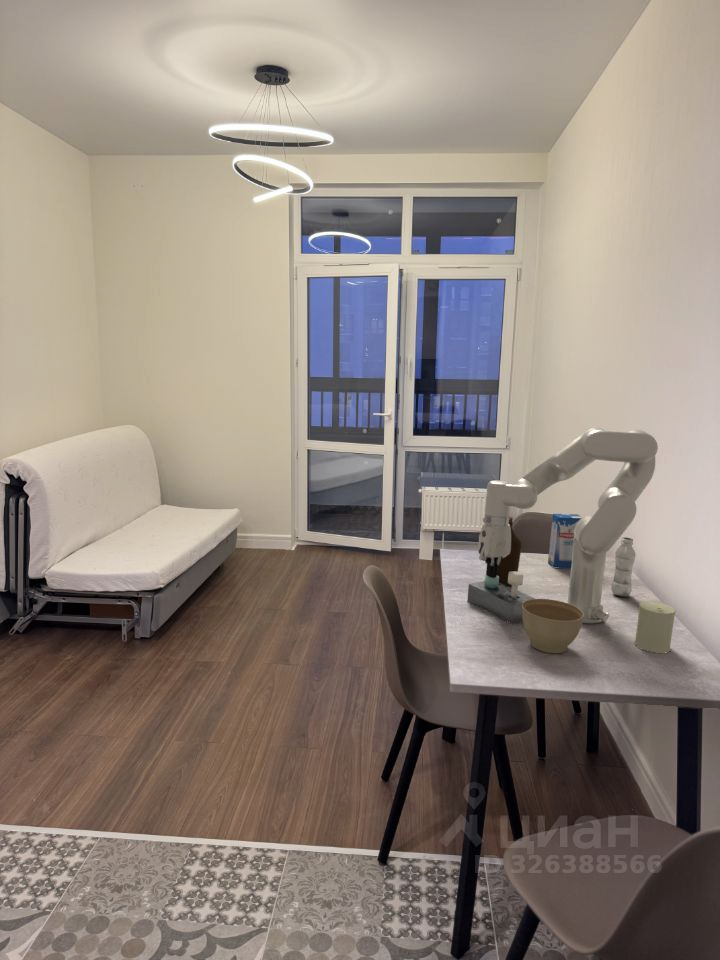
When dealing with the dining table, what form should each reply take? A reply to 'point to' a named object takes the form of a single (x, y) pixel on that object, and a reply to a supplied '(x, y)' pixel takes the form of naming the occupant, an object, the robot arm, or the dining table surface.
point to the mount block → (498, 601)
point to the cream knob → (515, 582)
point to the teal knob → (491, 582)
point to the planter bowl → (551, 624)
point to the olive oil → (510, 558)
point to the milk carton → (562, 540)
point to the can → (654, 626)
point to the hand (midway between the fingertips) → (491, 576)
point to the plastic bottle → (623, 568)
